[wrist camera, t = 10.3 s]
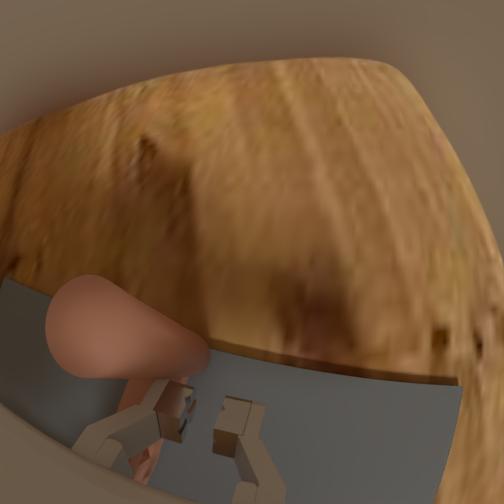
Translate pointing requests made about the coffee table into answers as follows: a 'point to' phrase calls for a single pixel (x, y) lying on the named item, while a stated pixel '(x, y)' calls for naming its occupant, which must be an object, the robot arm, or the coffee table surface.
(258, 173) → the coffee table surface
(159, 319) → the pink fence panel
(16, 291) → the board
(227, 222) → the coffee table surface
